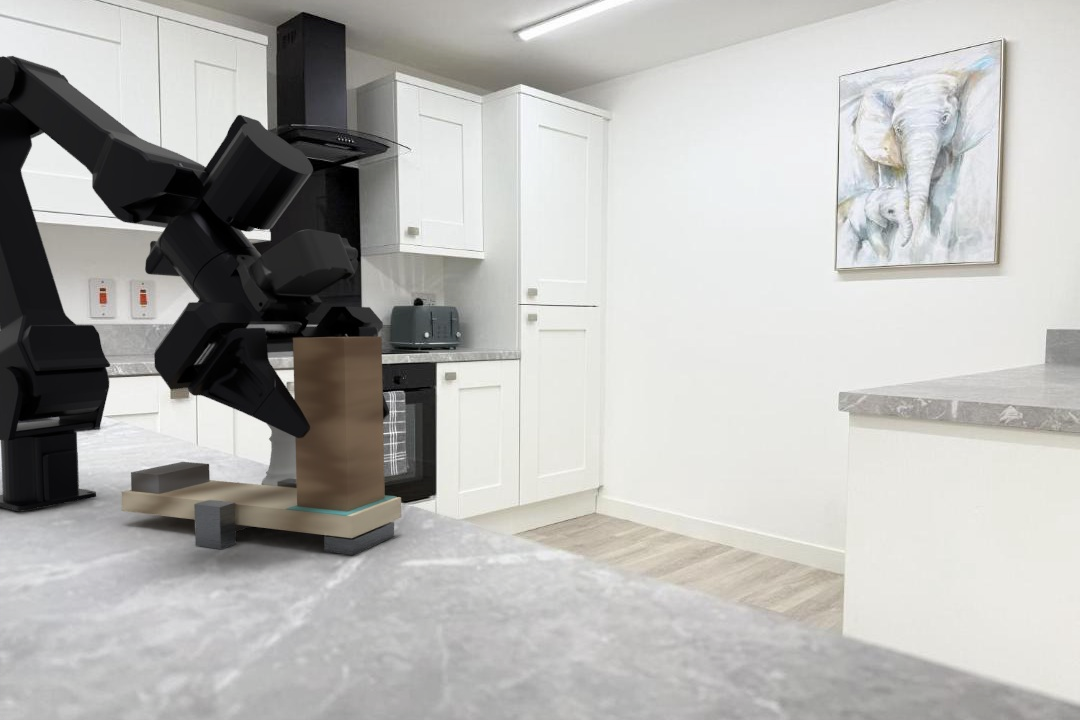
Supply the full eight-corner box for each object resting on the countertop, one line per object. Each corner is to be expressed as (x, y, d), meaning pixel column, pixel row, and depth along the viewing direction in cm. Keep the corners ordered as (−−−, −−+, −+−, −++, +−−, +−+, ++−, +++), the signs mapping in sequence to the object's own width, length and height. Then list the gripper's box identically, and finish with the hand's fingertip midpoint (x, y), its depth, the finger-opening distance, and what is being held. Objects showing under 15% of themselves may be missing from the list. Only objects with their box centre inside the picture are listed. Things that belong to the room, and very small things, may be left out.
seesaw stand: (195, 545, 55) (194, 504, 55) (289, 513, 64) (289, 478, 64) (330, 565, 50) (329, 520, 50) (411, 528, 59) (411, 489, 59)
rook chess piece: (296, 505, 67) (294, 414, 67) (250, 503, 68) (248, 413, 68) (320, 494, 71) (319, 408, 71) (277, 492, 72) (275, 407, 72)
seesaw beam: (122, 520, 60) (120, 473, 60) (184, 503, 66) (183, 460, 66) (351, 549, 52) (350, 494, 52) (401, 527, 57) (400, 477, 57)
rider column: (297, 506, 54) (292, 338, 54) (336, 493, 58) (332, 336, 58) (348, 511, 53) (344, 337, 52) (384, 498, 57) (381, 336, 56)
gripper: (182, 172, 48) (327, 352, 44) (362, 212, 65) (478, 343, 61) (97, 300, 51) (226, 476, 47) (290, 306, 68) (396, 435, 65)
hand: (348, 425), depth 55 cm, fingers open, 9 cm apart
